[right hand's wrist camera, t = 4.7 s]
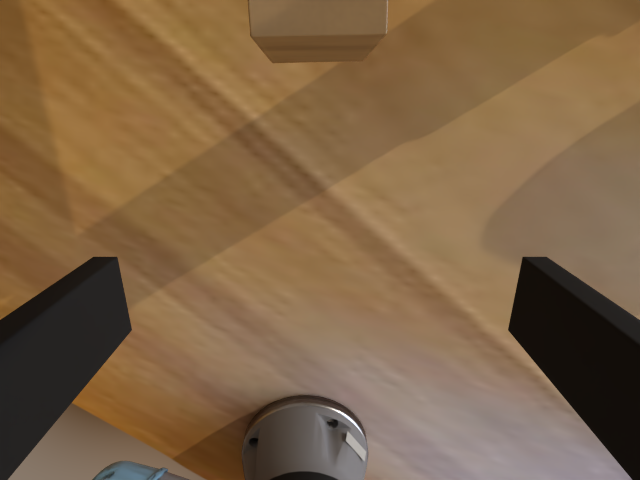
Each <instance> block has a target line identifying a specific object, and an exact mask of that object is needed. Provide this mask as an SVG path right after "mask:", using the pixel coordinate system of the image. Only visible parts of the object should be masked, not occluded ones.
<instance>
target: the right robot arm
mask: <svg viewBox="0 0 640 480" xmlns="http://www.w3.org/2000/svg"><path fill="white" fill-rule="evenodd" d="M131 330H132V328H131V323H130V318H129V313H128V308H127V303H126V298H125V293H124V288H123V283H122V278H121V273H120V268H119V263H118V258H117V257H93V258H91V259H90V260H88V261H87V262H85V263H84V264H82V265H81V266H79V267H78V268H76V269H75V270H74V271H72V272H71V273H69V274H68V275H66V276H65V277H63V278H62V279H60V280H59V281H57V282H56V283H54V284H53V285H51V286H50V287H48V288H47V289H45V290H44V291H43V292H41V293H40V294H38V295H37V296H35V297H34V298H32V299H31V300H29V301H28V302H26V303H25V304H23V305H22V306H20V307H19V308H17V309H16V310H14V311H13V312H12V313H10V314H9V315H7V316H6V317H4V318H3V319H1V320H0V480H8V478H9V477H10V476H11V475H12V474H13V472H14V471H15V470H16V469H17V468H18V466H19V465H20V464H21V463H22V462H23V460H24V459H25V458H26V457H27V456H28V454H29V453H30V452H31V451H32V450H33V448H34V447H35V446H36V445H37V443H38V442H39V441H40V440H41V439H42V438H43V436H44V435H45V434H46V433H47V431H48V430H49V429H50V428H51V427H52V426H53V424H54V423H55V422H56V421H57V419H58V418H59V417H60V416H61V415H62V413H63V412H64V411H65V410H66V409H67V407H68V406H69V405H70V404H71V403H72V401H73V400H74V399H75V398H76V397H77V395H78V394H79V393H80V392H81V391H82V389H83V388H84V387H85V386H86V385H87V383H88V382H89V381H90V380H91V379H92V377H93V376H94V375H95V374H96V373H97V371H98V370H99V369H100V368H101V367H102V365H103V364H104V363H105V362H106V360H107V359H108V358H109V357H110V356H111V354H112V353H113V352H114V351H115V350H116V348H117V347H118V346H119V345H120V344H121V342H122V341H123V340H124V339H125V338H126V336H127V335H128V334H129V333H130V332H131ZM508 330H509V332H510V333H511V334H512V335H513V336H514V338H515V339H516V340H517V341H518V342H519V344H520V345H521V346H522V347H523V348H524V350H525V351H526V352H527V353H528V354H529V356H530V357H531V358H532V359H533V360H534V362H535V363H536V364H537V365H538V367H539V368H540V369H541V370H542V371H543V373H544V374H545V375H546V376H547V377H548V379H549V380H550V381H551V382H552V383H553V385H554V386H555V387H556V388H557V389H558V391H559V392H560V393H561V394H562V395H563V397H564V398H565V399H566V400H567V401H568V403H569V404H570V405H571V406H572V407H573V409H574V410H575V411H576V412H577V413H578V415H579V416H580V417H581V418H582V419H583V421H584V422H585V423H586V424H587V426H588V427H589V428H590V429H591V430H592V432H593V433H594V434H595V435H596V436H597V438H598V439H599V440H600V441H601V442H602V444H603V445H604V446H605V447H606V448H607V450H608V451H609V452H610V453H611V454H612V456H613V457H614V458H615V459H616V460H617V462H618V463H619V464H620V465H621V466H622V468H623V469H624V470H625V471H626V472H627V474H628V475H629V476H630V477H631V478H632V480H640V320H639V319H637V318H636V317H634V316H633V315H631V314H630V313H628V312H627V311H626V310H624V309H623V308H621V307H620V306H618V305H617V304H615V303H614V302H612V301H611V300H609V299H608V298H606V297H605V296H603V295H602V294H600V293H599V292H597V291H596V290H595V289H593V288H592V287H590V286H589V285H587V284H586V283H584V282H583V281H581V280H580V279H578V278H577V277H575V276H574V275H572V274H571V273H569V272H568V271H566V270H565V269H564V268H562V267H561V266H559V265H558V264H556V263H555V262H553V261H552V260H550V259H549V258H547V257H523V258H522V263H521V268H520V273H519V278H518V283H517V288H516V293H515V298H514V303H513V308H512V313H511V318H510V323H509V328H508ZM367 461H368V447H367V441H366V435H365V431H364V429H363V426H362V424H361V422H360V421H359V420H358V418H357V417H356V416H355V415H354V414H353V413H352V412H351V411H350V410H349V409H347V408H346V407H344V406H343V405H341V404H339V403H337V402H335V401H333V400H330V399H327V398H323V397H318V396H306V395H305V396H293V397H288V398H284V399H281V400H278V401H276V402H274V403H272V404H270V405H268V406H267V407H265V408H264V409H262V410H261V411H260V412H259V413H258V414H257V415H256V416H255V417H254V418H253V419H252V421H251V422H250V424H249V426H248V428H247V431H246V434H245V438H244V443H243V447H242V462H243V469H244V476H245V480H364V477H365V472H366V467H367ZM167 471H168V469H166V468H161V469H157V468H153V467H149V466H146V465H142V464H138V463H134V462H130V461H119V462H116V463H113V464H111V465H109V466H107V467H106V468H104V469H103V470H102V471H101V472H100V473H99V474H97V476H96V477H94V479H93V480H189V479H186V478H183V477H180V476H177V475H174V474H171V473H168V472H167Z"/></svg>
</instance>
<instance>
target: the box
mask: <svg viewBox="0 0 640 480" xmlns="http://www.w3.org/2000/svg"><path fill="white" fill-rule="evenodd" d="M248 9H249V23H250V36H251V38H252V39H253V40H254V41H255V42H256V44H257V45H258V46H259V47H260V49H261V50H262V51H263V52H264V53H265V55H266V56H267V57H268V58H269V60H270V61H271V62H272V63H299V62H344V61H364V60H365V58H366V57H367V56H368V55H369V54H370V53H371V51H372V50H373V49H374V48H375V47H376V46H377V44H378V43H379V42H380V41H381V40H382V39H383V37H384V36H385V35H386V34H387V19H388V0H248Z"/></svg>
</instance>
